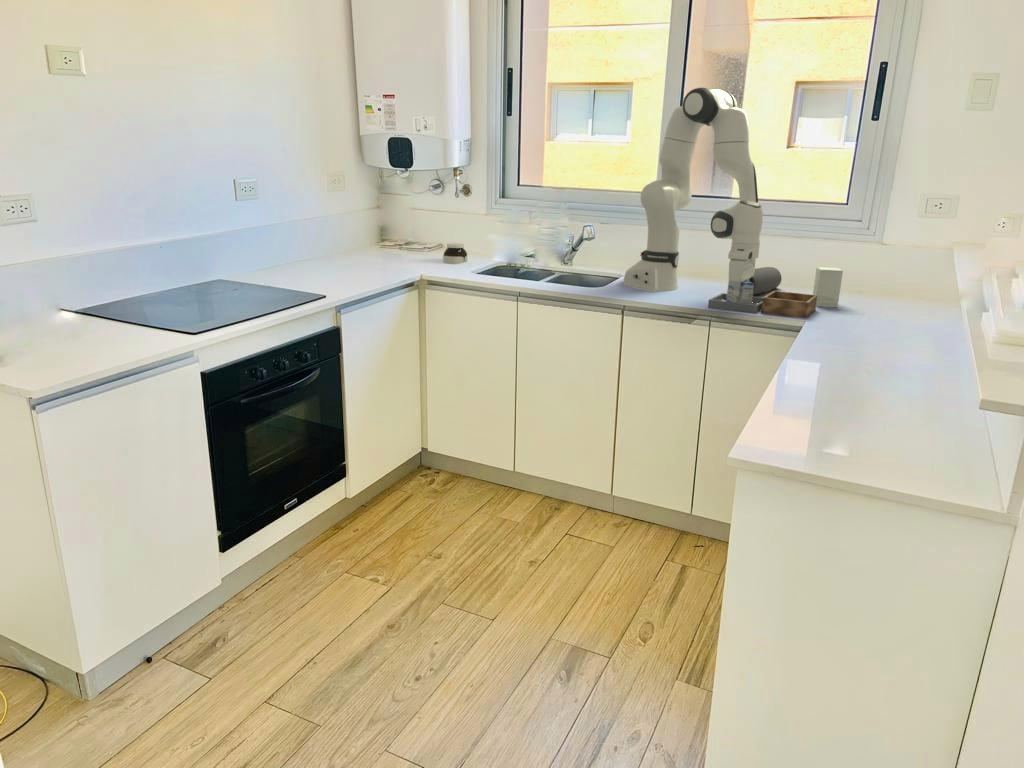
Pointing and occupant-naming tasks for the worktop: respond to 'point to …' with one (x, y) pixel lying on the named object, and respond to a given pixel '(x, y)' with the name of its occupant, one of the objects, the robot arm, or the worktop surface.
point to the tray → (735, 304)
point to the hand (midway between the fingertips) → (740, 293)
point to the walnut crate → (789, 304)
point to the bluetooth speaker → (765, 280)
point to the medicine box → (741, 293)
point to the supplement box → (827, 286)
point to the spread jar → (455, 254)
